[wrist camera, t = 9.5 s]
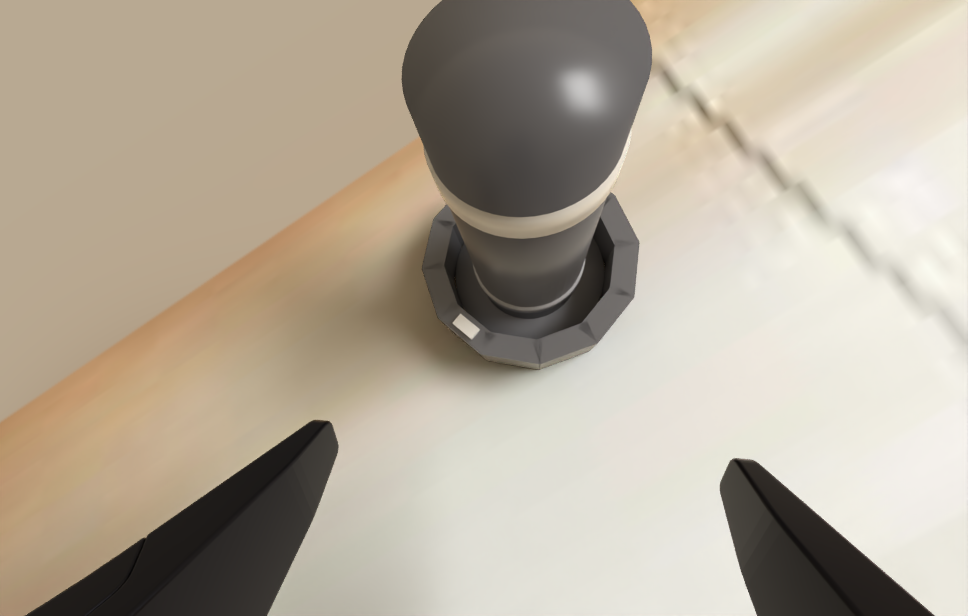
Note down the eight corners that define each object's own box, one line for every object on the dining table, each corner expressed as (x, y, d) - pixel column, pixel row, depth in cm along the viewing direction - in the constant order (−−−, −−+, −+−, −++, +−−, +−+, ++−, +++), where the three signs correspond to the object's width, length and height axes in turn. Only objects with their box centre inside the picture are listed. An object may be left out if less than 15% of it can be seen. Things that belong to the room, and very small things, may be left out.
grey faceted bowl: (543, 408, 19) (545, 408, 16) (401, 287, 21) (383, 271, 19) (664, 257, 20) (683, 234, 17) (515, 160, 23) (512, 128, 20)
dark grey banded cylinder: (572, 328, 19) (645, 183, 7) (470, 312, 20) (369, 159, 8) (585, 232, 21) (666, -38, 8) (488, 221, 21) (427, -38, 9)
